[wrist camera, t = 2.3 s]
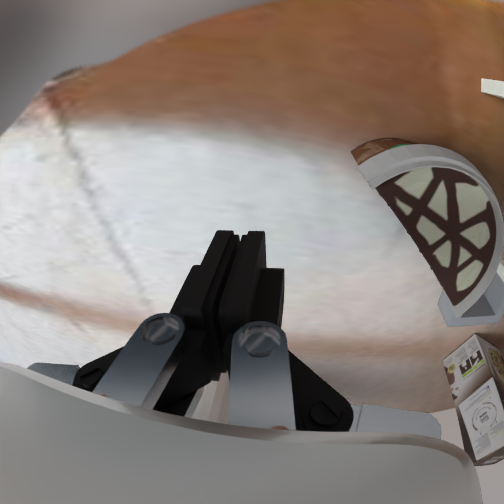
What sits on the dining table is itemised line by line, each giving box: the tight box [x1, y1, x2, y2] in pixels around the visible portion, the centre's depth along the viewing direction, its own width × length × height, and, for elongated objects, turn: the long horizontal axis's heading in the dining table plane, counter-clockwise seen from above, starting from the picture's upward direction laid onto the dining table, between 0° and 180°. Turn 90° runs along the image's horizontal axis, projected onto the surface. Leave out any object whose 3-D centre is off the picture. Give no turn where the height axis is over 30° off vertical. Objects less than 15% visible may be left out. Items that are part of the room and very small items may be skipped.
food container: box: [351, 138, 504, 318], centre depth 17 cm, size 12×6×10 cm, turn 46°
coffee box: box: [443, 334, 504, 466], centre depth 25 cm, size 9×6×16 cm
